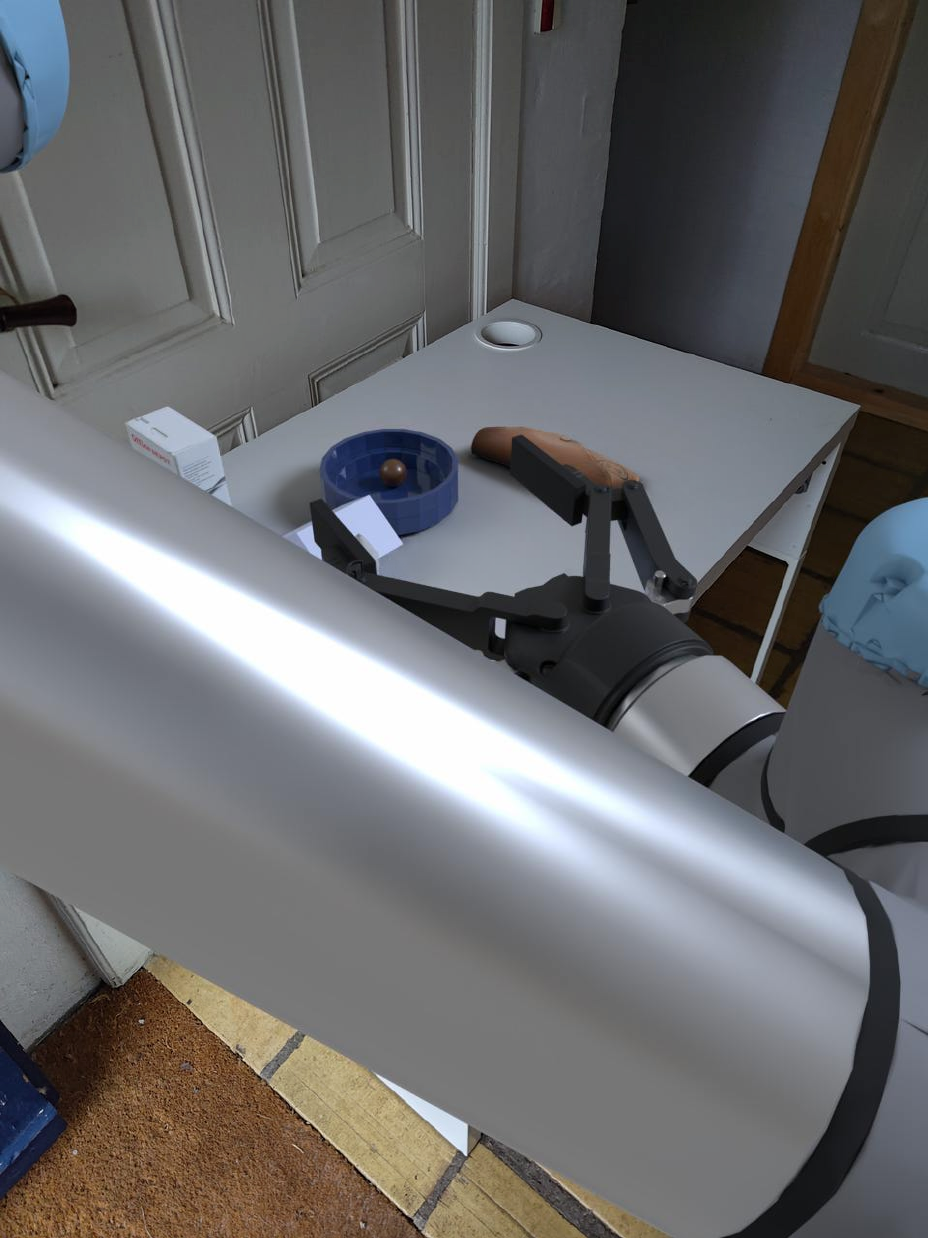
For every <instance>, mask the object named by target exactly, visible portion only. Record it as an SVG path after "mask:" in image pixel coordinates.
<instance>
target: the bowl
mask: <svg viewBox="0 0 928 1238" xmlns="http://www.w3.org/2000/svg"><path fill="white" fill-rule="evenodd" d="M388 459H397V460H399V461H401V462H402V463H403V464H404V465H405V467H406V470H407V477H406V480H405V481H404V483H403V484H401V485H400V486H398V487H389V486H386V485H385V484H384V483H383V482H382V481H381V479H380V477H379V469H380V466H381V465H382V463H383V462H385V461H386V460H388ZM318 471H319V478H320V485H321V492H322V495H321V496H322V500H323V501H324V502H325V503H326V504H327V505H328V506H329V508H330V509H331V510H334V509H335V508H337V507H339V506H341V505H344V504H346V503H349V502H352V501H354V500H357V499H360V498H362V497H365V496H368V495H370V496H371V498H372V499H373V501H374V502H375V504H376V505H377V507H378V508H379V509H380V511H381V512H382V514H383V515H384V517H385V518H386V520H387V521H388V523H389V524H390V525H391V527H392V528H393V530H394V531H395V533H396V534H397V536H401V535H405V534H412V533H417V532H420V531H424V530H426V529H428V528H431V527H433V526H435V525H437V524H439V523H440V522H441V521H443V520H444V519H445V518H447V517H448V516H449V515H451V514H452V513H453V511H454V508H455V507H456V505H457V503H458V502H459V457H458V455H457V454H456V452H455V451H454V449H453V448H452V447H451V446H450V444H447V442H446V441H443V440H442V439H440V438H439V437H436V436H435V435H431V434H428V433H426V432H423V431H417V430H412V429H406V428H379V429H373V430H368V431H367V430H366V431H362V432H359V433H356V434H354V435H351V436H348V437H345V438H343V439H341V440H340V441H339V442H337V443H335V444H333V445H332V446H330V448H329V449H328V450H327V452H325V454H323V456H322V457H321V460H320V465H319V469H318Z"/></svg>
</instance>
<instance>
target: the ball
mask: <svg viewBox="0 0 928 1238" xmlns="http://www.w3.org/2000/svg"><path fill="white" fill-rule="evenodd" d="M379 477H380V479H381V481H382V482H383V483H384V484H385V485H386V486H389V487H398V486H400V485H401V484H403V483H404V481H405V480H406V477H407V470H406V467H405V465H404V464H403V463H402V462H401V461H399V460H397V459H388V460H386V461H385V462H383V463H382V465H381V466H380V469H379Z"/></svg>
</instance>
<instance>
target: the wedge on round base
mask: <svg viewBox="0 0 928 1238" xmlns="http://www.w3.org/2000/svg"><path fill="white" fill-rule="evenodd" d="M332 511H333V512H334V513H335V515H336V516H337V517H338V518H339V519H340V520H341V521H342V523H343V524H344V525H345V526H346V527H347V528H348V529H349V531H350V532H351V533H352V534H353V535H354V536H356V535H357V534H358V533H360V534H361V535H362V536H364V537H365V538H366V539H367V540H368V541H369V542H370V544H371V545H372V546H373V548H374V549H375V550H376V551H377V552H378V555H379V558H378V560H379V559H380V558H382V557H384V556H385V555H387V554H389V553H390V552H392V551H394V550H396V549H398V548H399V547H401V546H403V545H404V543H403V541H402V540H401V538H400V537H399V535H397V534H396V533H395V531H394V530H393V528H392V527H391V525H390V524H389V523H388V521H387V520H386V518H385V517H384V515H383V514H382V512H381V511H380V509H379V508H378V507H377V505H376V504H375V502H374V501H373V499H372V498H371V496H370V495H368V496H365V497H362V498H360V499H357V500H354V501H352V502H349V503H346V504H344V505H341V506H339V507H337V508H335V509H334V510H332ZM281 536H282V537H284V538H286V539H287V540H289V541H291V542H292V543H294V544H296V545H297V546H299V547H301V548H302V549H304V550H306V551H307V552H309V553H311V554H313V555H314V556H316V557H318V558H319V559H321V560H322V557H321V549H320V548H319V546H318V545H317V544H316V543H315V541H314V533H313V526H312V520H311V521H308V522H307V523H304V524H302V525H301V526H298V527H297V528H295V529H293V530H291V531H289V532H287V533H285V534H283V535H281Z"/></svg>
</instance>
